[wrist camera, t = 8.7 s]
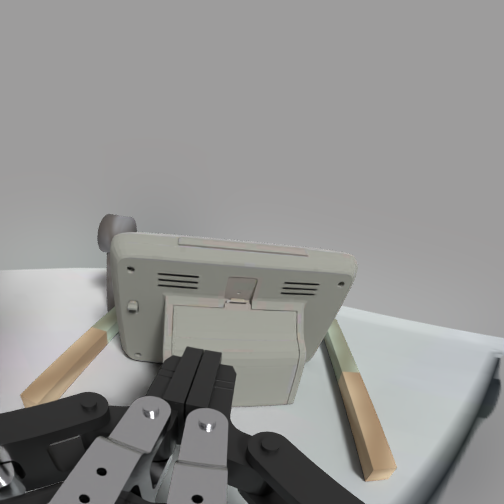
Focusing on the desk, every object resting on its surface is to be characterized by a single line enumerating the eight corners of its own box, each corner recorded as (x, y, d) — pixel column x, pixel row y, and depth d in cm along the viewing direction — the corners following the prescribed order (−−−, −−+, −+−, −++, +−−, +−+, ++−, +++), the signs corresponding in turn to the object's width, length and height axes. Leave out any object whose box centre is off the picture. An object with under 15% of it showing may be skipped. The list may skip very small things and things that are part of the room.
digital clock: (314, 354, 26) (342, 240, 24) (337, 422, 17) (389, 275, 15) (137, 330, 26) (140, 213, 23) (98, 391, 17) (85, 234, 14)
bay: (3, 395, 13) (-31, 253, 10) (119, 293, 32) (122, 209, 30) (388, 479, 12) (468, 340, 10) (333, 329, 32) (354, 243, 29)
